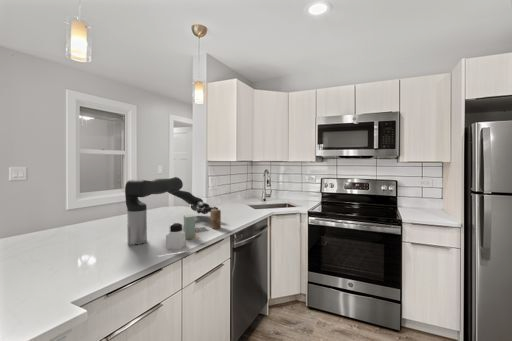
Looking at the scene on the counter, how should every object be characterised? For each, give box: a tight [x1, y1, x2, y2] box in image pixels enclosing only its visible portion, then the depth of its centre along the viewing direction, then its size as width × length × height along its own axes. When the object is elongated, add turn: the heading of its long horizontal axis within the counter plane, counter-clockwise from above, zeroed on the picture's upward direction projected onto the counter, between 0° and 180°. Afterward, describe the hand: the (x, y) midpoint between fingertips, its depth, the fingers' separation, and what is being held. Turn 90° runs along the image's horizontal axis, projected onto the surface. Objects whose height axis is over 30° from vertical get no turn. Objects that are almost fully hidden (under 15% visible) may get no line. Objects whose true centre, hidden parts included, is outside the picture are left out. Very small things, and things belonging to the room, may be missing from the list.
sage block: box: [183, 214, 196, 239], centre depth 143 cm, size 5×5×12 cm
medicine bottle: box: [165, 222, 186, 250], centre depth 128 cm, size 7×7×12 cm
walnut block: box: [210, 208, 222, 230], centre depth 163 cm, size 5×5×12 cm
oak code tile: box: [185, 233, 201, 242], centre depth 143 cm, size 10×10×1 cm
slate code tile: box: [195, 226, 210, 234], centre depth 158 cm, size 10×10×1 cm
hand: (210, 211), depth 173 cm, fingers open, 8 cm apart
